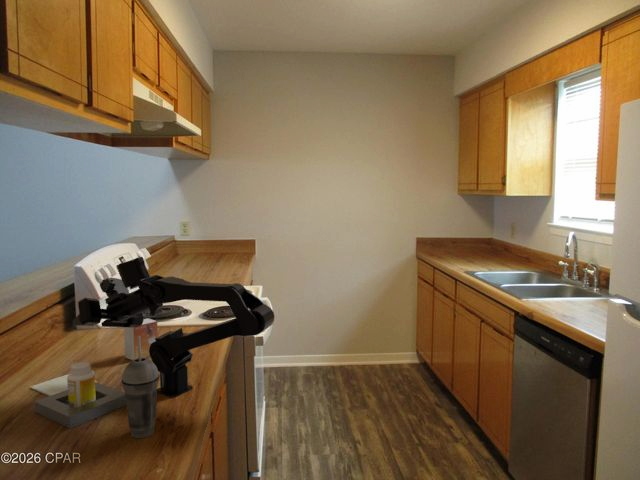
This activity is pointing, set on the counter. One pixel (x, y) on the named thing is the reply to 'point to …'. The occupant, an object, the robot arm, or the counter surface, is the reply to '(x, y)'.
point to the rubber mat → (52, 386)
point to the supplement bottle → (81, 385)
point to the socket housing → (71, 417)
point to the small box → (146, 339)
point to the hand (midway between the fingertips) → (88, 324)
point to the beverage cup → (141, 394)
